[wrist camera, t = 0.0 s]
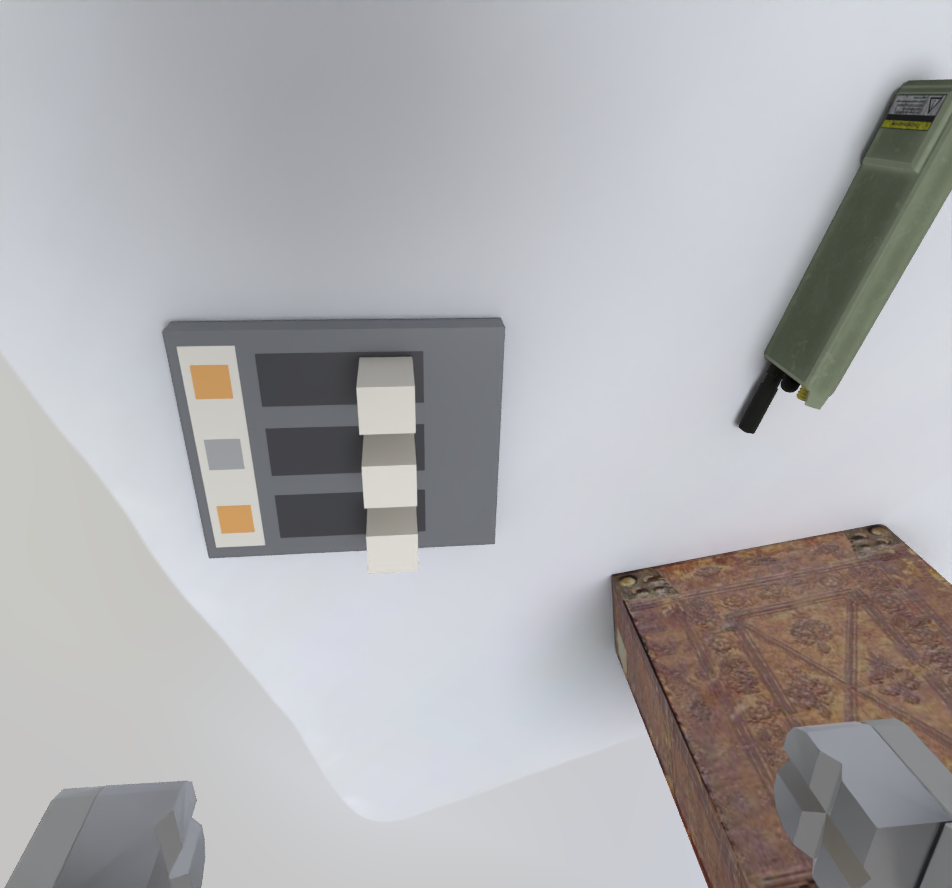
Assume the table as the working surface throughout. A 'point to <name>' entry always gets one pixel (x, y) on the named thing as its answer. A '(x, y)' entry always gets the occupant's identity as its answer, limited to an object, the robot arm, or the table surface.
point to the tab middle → (389, 470)
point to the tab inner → (386, 395)
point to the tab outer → (392, 540)
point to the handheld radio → (863, 249)
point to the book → (778, 676)
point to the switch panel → (332, 428)
